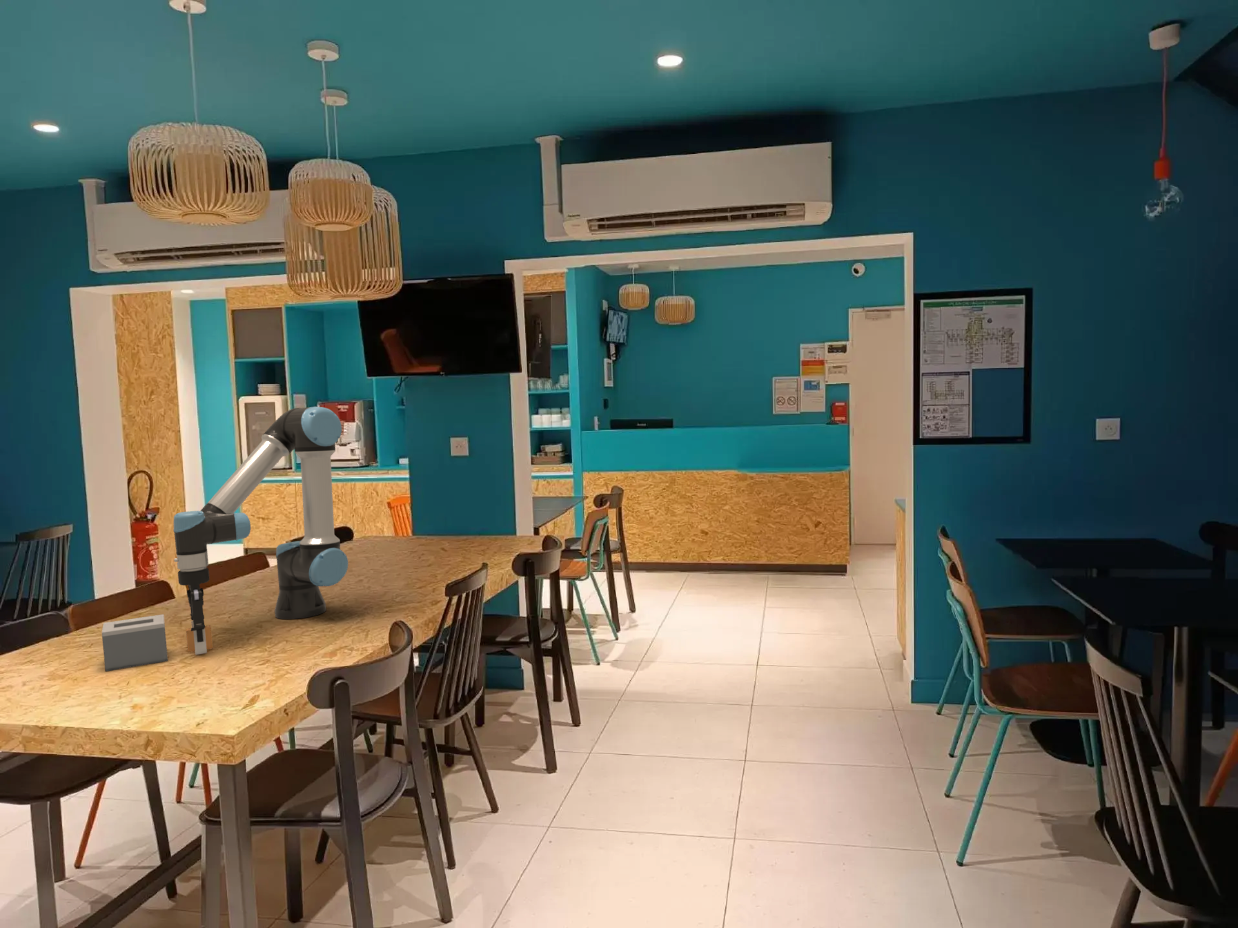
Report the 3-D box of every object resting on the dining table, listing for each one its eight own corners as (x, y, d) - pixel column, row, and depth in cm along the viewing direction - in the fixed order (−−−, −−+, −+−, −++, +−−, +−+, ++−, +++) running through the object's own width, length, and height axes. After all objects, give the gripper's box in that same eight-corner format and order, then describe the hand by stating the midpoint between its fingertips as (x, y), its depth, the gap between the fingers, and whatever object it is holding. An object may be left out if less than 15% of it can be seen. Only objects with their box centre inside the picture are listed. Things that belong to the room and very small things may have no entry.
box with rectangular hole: (166, 650, 232) (163, 614, 231) (167, 660, 221) (164, 623, 221) (107, 659, 225) (103, 622, 224) (105, 671, 215) (101, 632, 214)
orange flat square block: (212, 646, 234) (210, 624, 233) (212, 648, 232) (211, 626, 231) (187, 650, 231) (186, 628, 231) (188, 652, 229) (186, 630, 228)
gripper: (176, 564, 238) (182, 641, 240) (179, 577, 218) (186, 661, 219) (205, 560, 242) (212, 636, 243) (211, 573, 221) (218, 655, 223)
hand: (199, 648), depth 231 cm, fingers open, 11 cm apart
